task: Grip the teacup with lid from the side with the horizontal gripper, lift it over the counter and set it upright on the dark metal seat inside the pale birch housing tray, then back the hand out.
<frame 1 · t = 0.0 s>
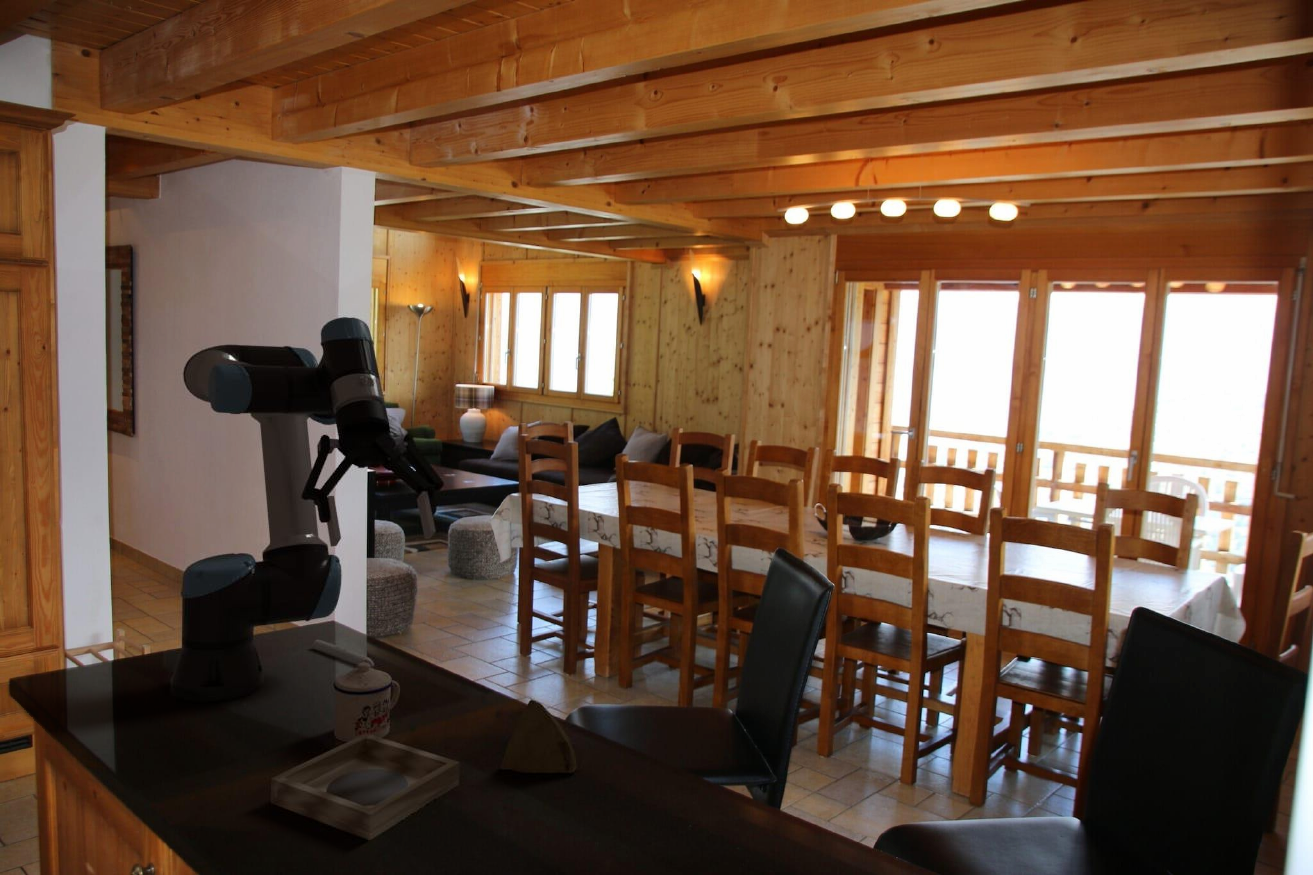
hand: (384, 539, 133), 36 cm above the counter, tool tilted 35°, fingers open, 13 cm apart
marker: (344, 660, 186), on the counter
housing tray: (367, 793, 133), on the counter
teacup with lid: (369, 731, 154), on the counter
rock: (540, 770, 144), on the counter
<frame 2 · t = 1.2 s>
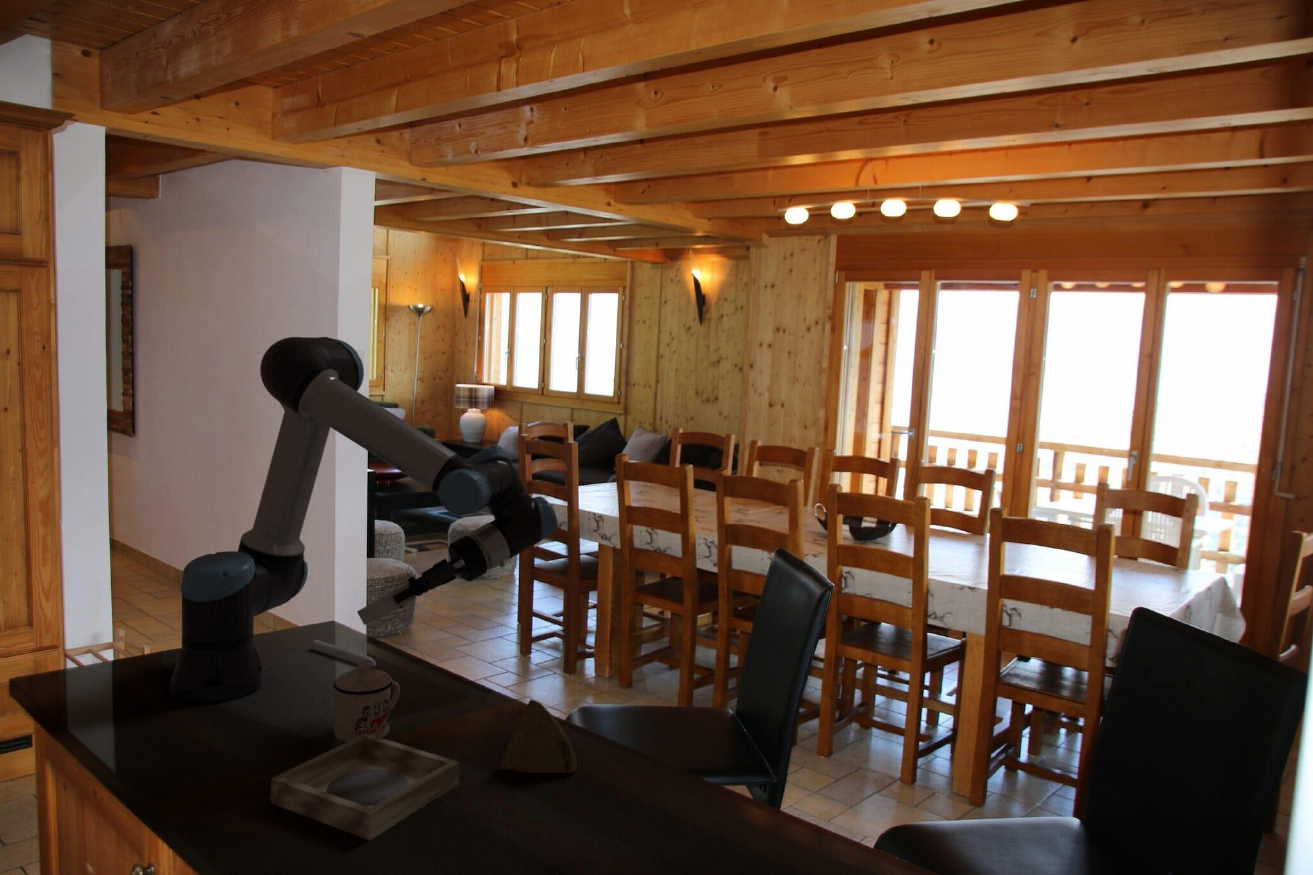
hand: (367, 615, 154), 19 cm above the counter, tool tilted 65°, fingers open, 13 cm apart
nothing on the counter moved.
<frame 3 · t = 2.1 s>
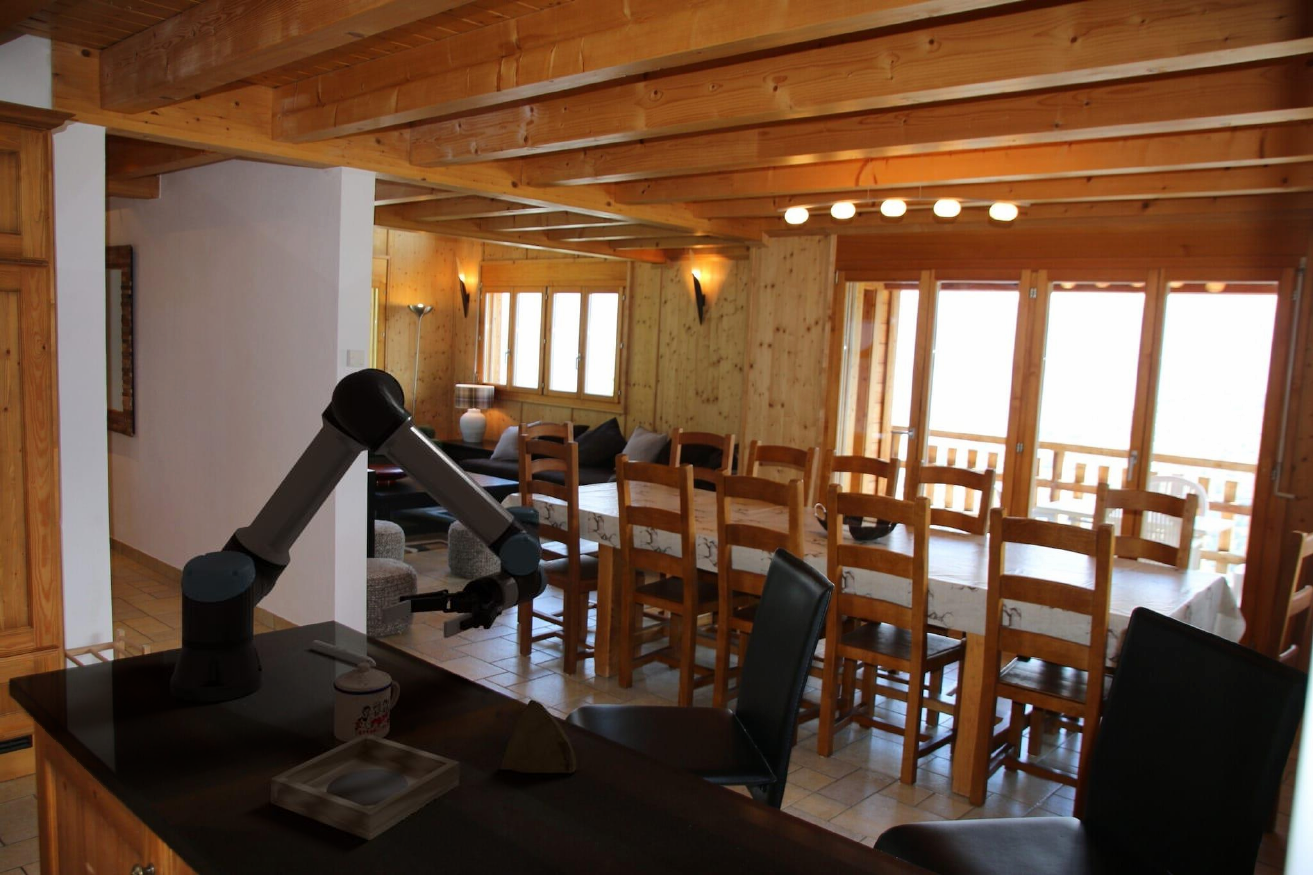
hand: (413, 623, 161), 16 cm above the counter, tool horizontal, fingers open, 13 cm apart
nothing on the counter moved.
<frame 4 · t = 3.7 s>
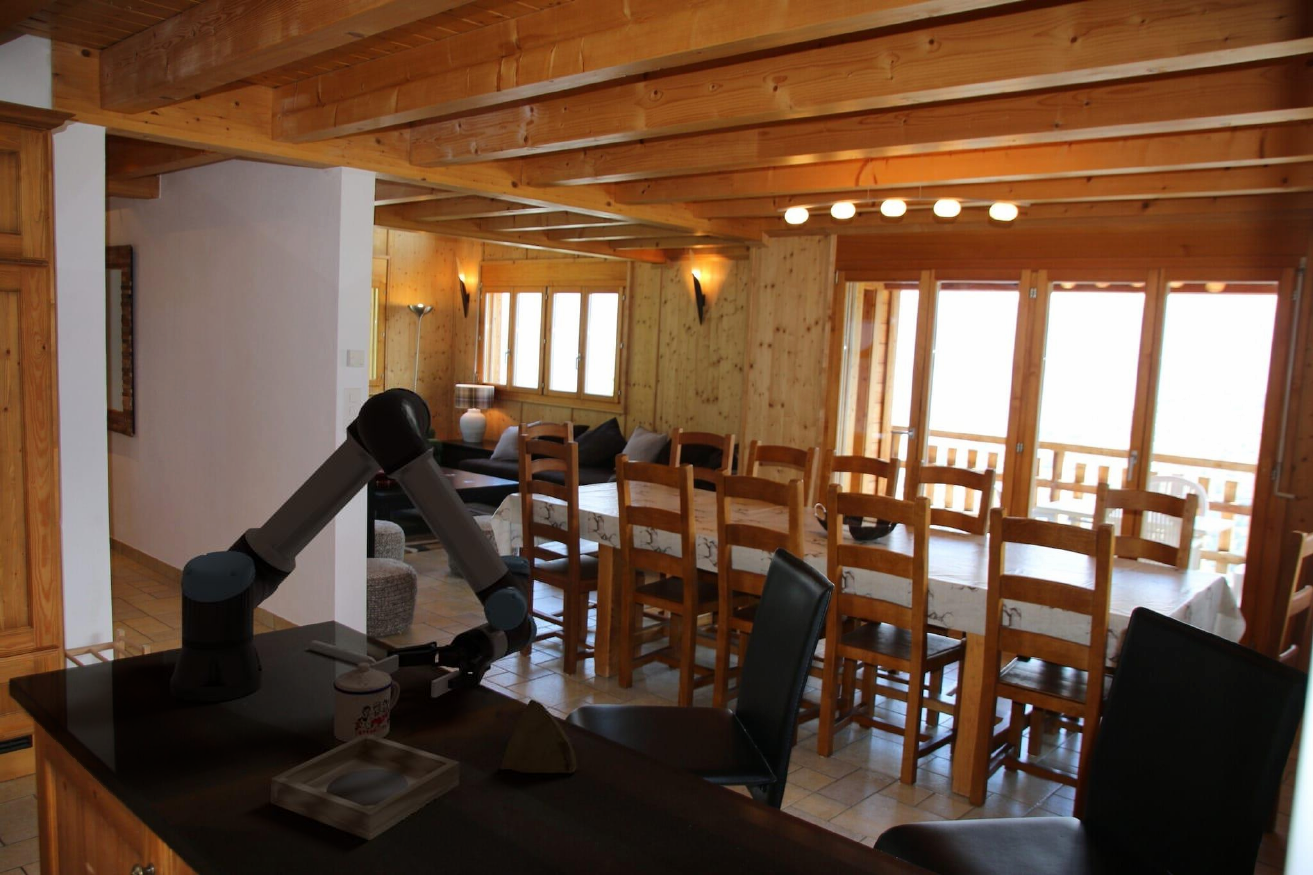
hand: (401, 681, 159), 6 cm above the counter, tool horizontal, fingers open, 13 cm apart
nothing on the counter moved.
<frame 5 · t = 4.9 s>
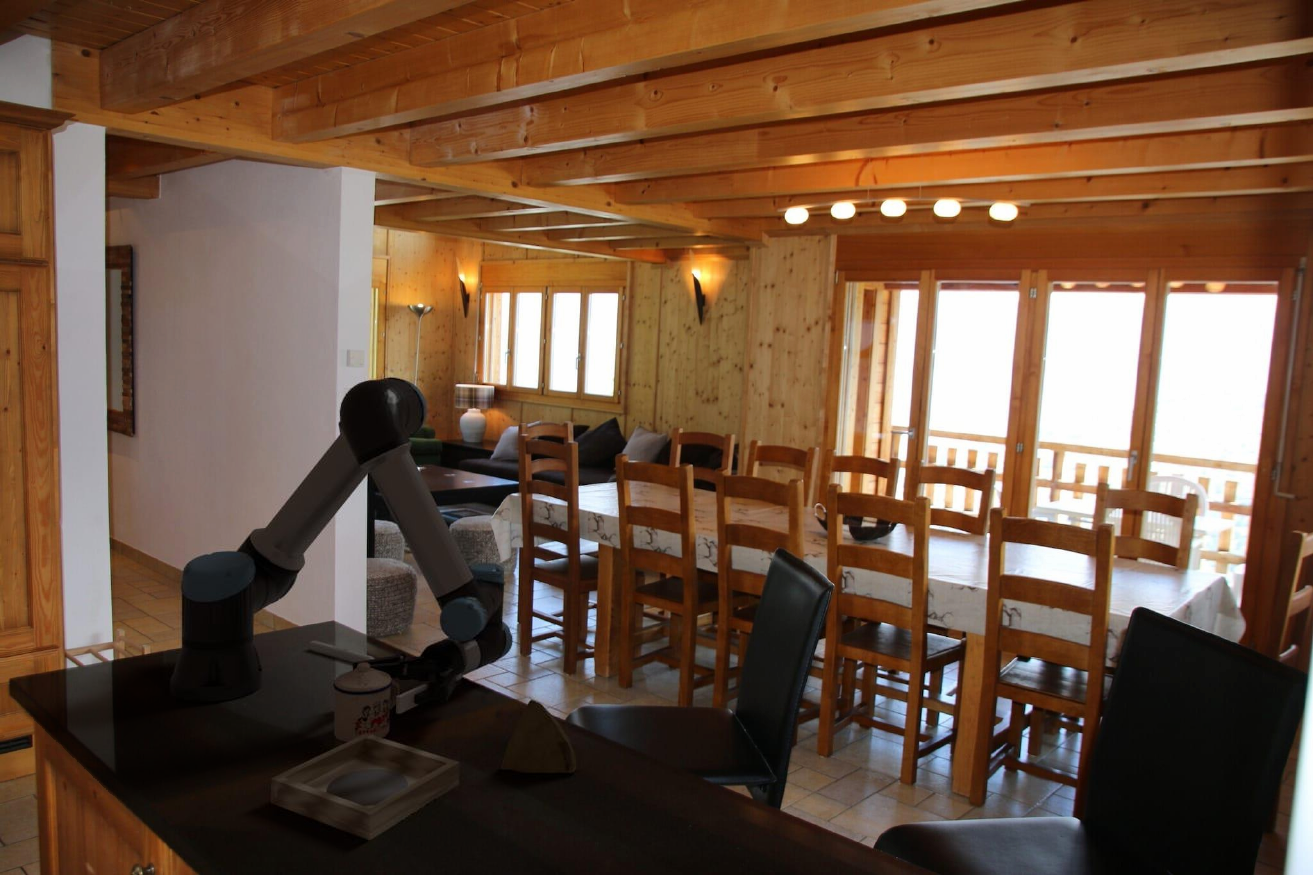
hand: (365, 695, 152), 6 cm above the counter, tool horizontal, fingers open, 13 cm apart
nothing on the counter moved.
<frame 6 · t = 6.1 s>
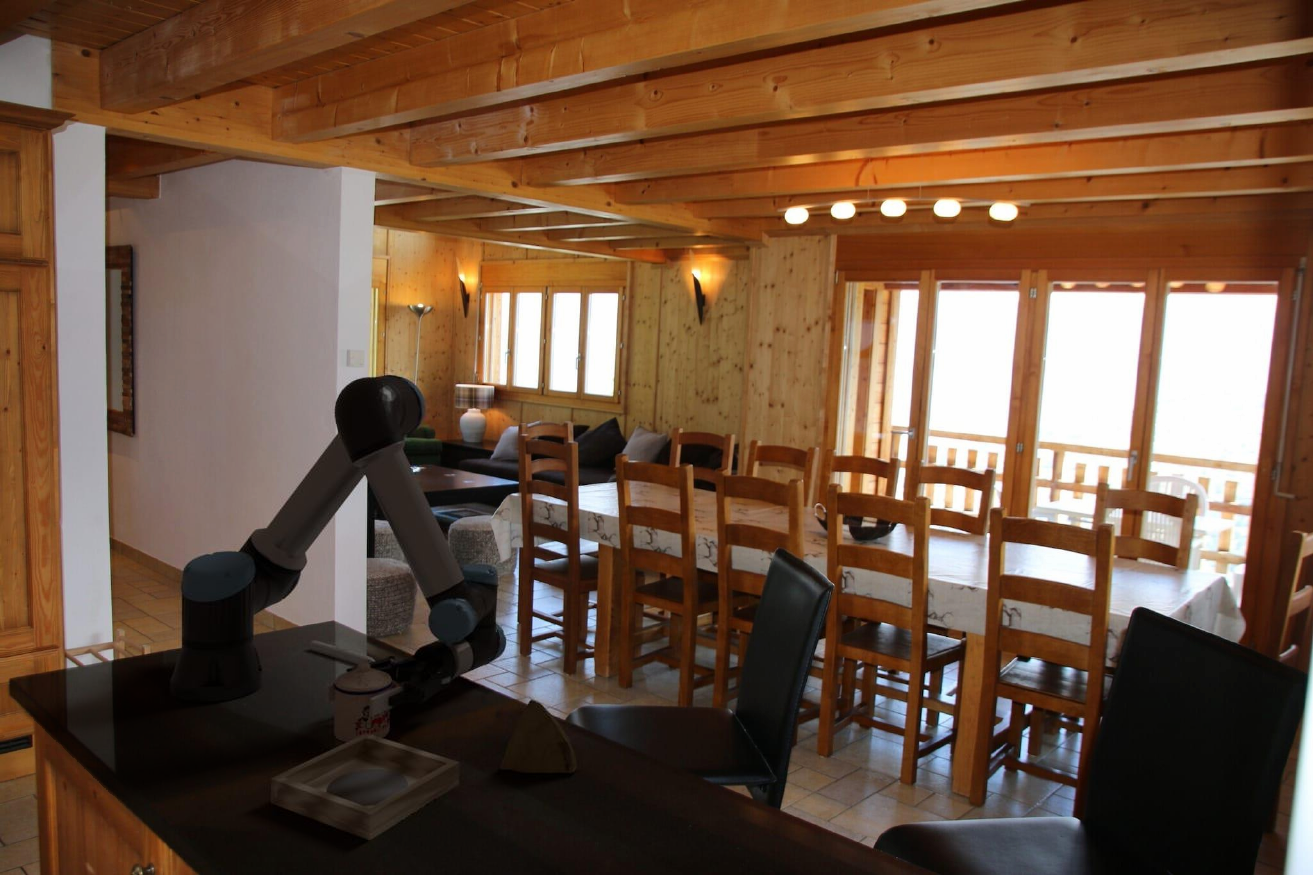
hand: (348, 700, 149), 7 cm above the counter, tool horizontal, fingers closed on teacup with lid, 9 cm apart
teacup with lid: (369, 731, 154), on the counter, touching gripper
everything else where it was.
when the fingers open (9 cm above the counter, at t = 11.7 s): teacup with lid drops 1 cm, resting on housing tray.
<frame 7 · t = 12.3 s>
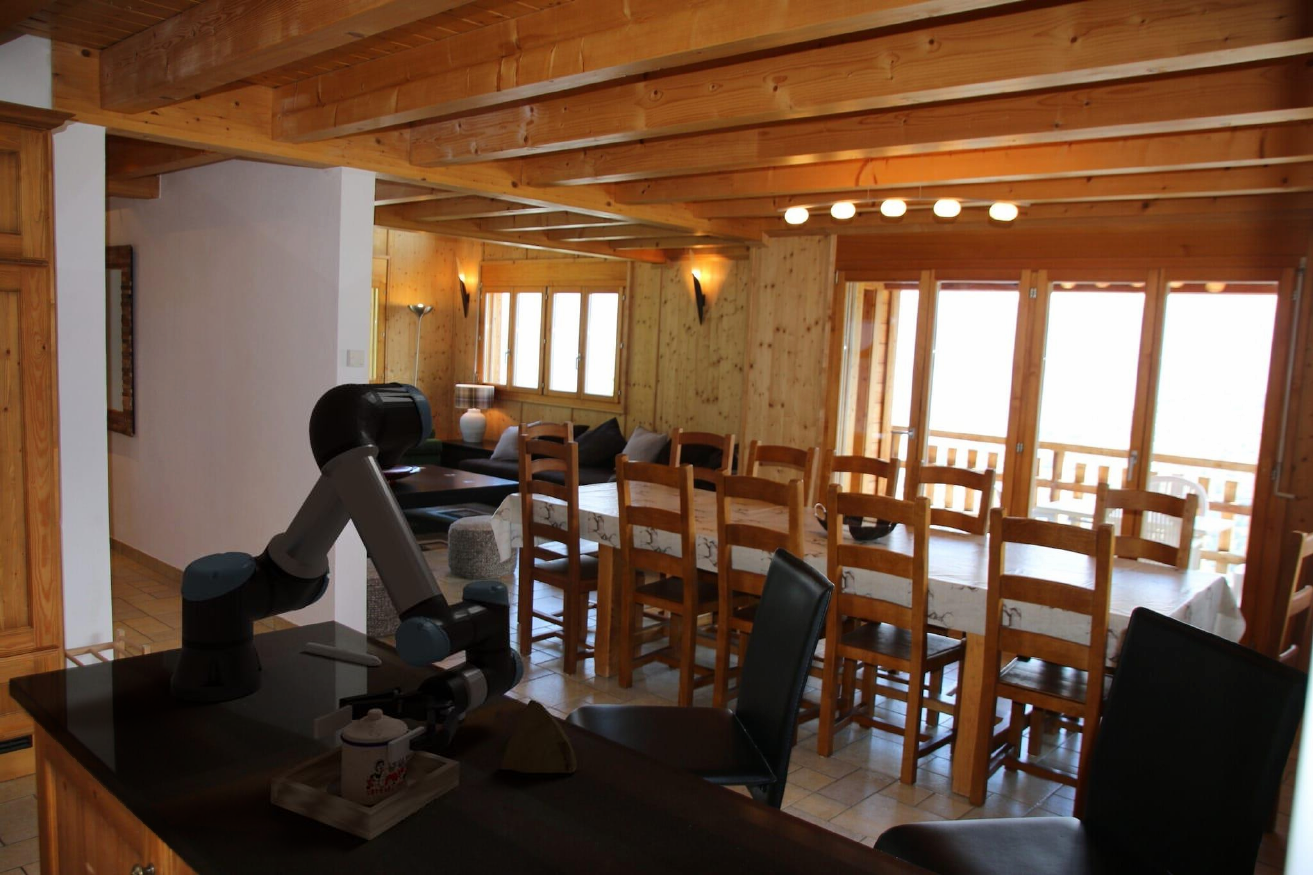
hand: (351, 741, 129), 9 cm above the counter, tool horizontal, fingers open, 13 cm apart
teacup with lid: (381, 790, 132), point 1 cm above the counter, touching gripper, housing tray
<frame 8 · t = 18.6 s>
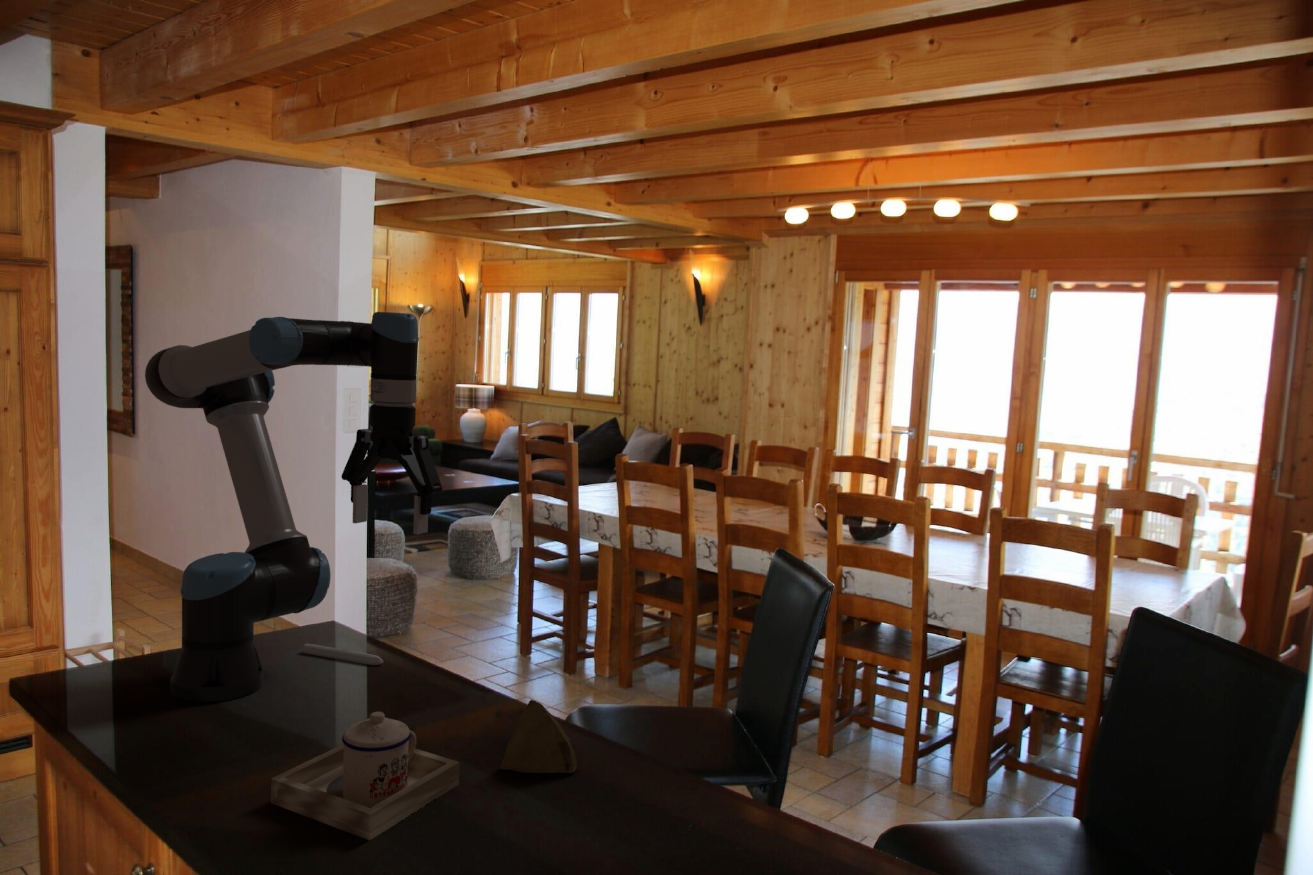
hand: (389, 527, 161), 32 cm above the counter, tool pointing down, fingers open, 13 cm apart
teacup with lid: (382, 791, 132), point 1 cm above the counter, touching housing tray
at the end: teacup with lid inside the target area on the housing tray (2.4 cm from its centre), point 0.9 cm above the housing tray's base; teacup with lid tilted 0°; the gripper is holding nothing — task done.
